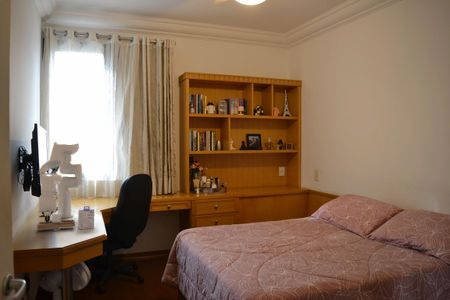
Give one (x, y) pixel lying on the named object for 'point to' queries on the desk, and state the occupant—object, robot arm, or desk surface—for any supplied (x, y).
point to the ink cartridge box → (86, 218)
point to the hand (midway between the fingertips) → (47, 221)
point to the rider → (56, 218)
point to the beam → (56, 224)
